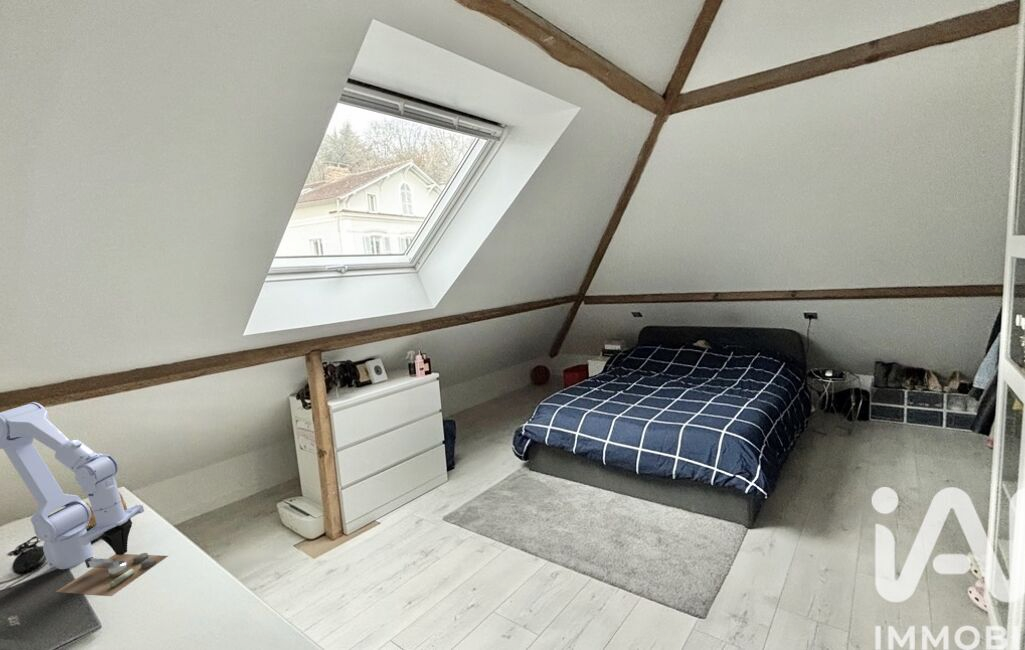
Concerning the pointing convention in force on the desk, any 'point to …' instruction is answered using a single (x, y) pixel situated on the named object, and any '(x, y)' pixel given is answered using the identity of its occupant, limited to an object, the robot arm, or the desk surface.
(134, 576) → the brown flat board
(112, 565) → the door lever handle
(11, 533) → the desk surface
